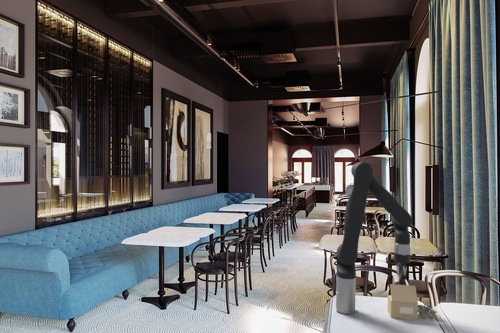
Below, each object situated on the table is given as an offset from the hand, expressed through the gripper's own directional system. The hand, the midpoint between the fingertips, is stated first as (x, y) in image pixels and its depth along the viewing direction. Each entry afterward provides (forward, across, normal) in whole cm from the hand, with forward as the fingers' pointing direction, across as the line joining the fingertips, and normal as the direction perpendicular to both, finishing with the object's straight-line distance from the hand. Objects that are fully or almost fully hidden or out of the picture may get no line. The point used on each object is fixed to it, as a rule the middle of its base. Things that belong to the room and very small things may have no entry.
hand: (401, 286), depth 184 cm
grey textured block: (+14, 0, +12) cm, 18 cm away
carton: (+13, +3, 0) cm, 13 cm away
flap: (+2, +5, 0) cm, 5 cm away
